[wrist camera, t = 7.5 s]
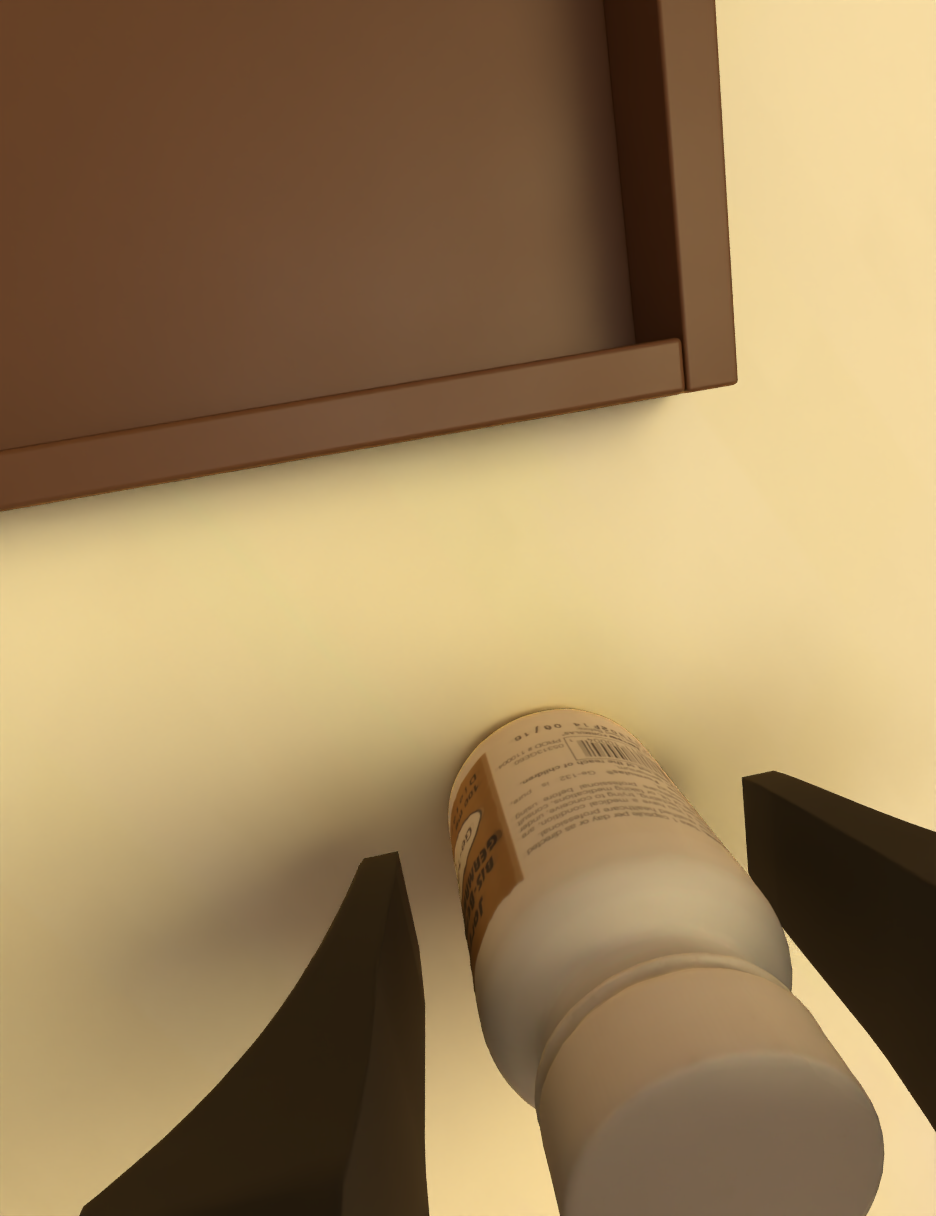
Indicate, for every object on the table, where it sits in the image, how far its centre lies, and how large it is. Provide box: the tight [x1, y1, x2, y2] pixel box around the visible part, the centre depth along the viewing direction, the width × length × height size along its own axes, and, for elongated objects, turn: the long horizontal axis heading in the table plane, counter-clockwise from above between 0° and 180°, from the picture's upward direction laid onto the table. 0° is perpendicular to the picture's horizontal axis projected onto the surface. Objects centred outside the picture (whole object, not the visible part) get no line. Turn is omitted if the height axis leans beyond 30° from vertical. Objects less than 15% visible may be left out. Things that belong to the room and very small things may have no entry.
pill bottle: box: [448, 709, 884, 1216], centre depth 11 cm, size 4×4×8 cm
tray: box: [0, 0, 738, 512], centre depth 9 cm, size 16×12×2 cm
